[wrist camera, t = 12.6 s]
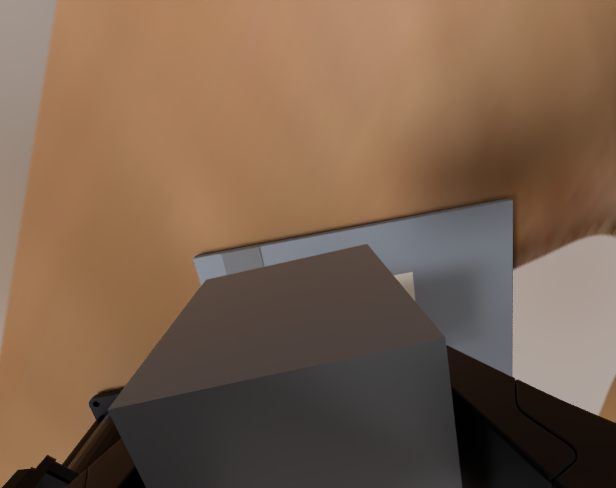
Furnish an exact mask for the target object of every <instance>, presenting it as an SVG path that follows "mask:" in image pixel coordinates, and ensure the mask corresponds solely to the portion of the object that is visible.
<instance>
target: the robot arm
mask: <svg viewBox="0 0 616 488" xmlns="http://www.w3.org/2000/svg"><path fill="white" fill-rule="evenodd" d="M446 347H447V356H448V365H449V374H450V383H451V392H452V401H453V410H454V418H455V427H456V436H457V445H458V454H459V463H460V472H461V481H462V488H616V423H615V422H612V421H610V420H607V419H605V418H602V417H600V416H597V415H595V414H593V413H590V412H588V411H586V410H583V409H581V408H579V407H576V406H574V405H571V404H569V403H567V402H564V401H562V400H560V399H557V398H556V397H553V396H551V395H549V394H547V393H545V392H543V391H541V390H538V389H536V388H534V387H532V386H530V385H528V384H526V383H524V382H522V381H520V380H516V381H515V378H513V377H511V376H509V375H507V374H505V373H503V372H501V371H499V370H497V369H495V368H493V367H491V366H489V365H487V364H485V363H483V362H481V361H479V360H477V359H475V358H473V357H471V356H468V355H466V354H464V353H462V352H460V351H458V350H456V349H454V348H452V347H450V346H448V345H446ZM121 391H122V390H119V391H114V392H108V393H102V394H97V395H95V396H94V397H93V398H92V399H91V400H90V401H89V406H90V408H91V410H92V412H93V414H94V416H95V418H96V421H95V423H94V424H93V425H92V426H91V428H90V429H89V430H88V432H87V433H86V434H85V435H84V437H83V438H82V439H81V441H80V442H79V443H78V445H77V446H76V447H75V448H74V450H73V451H72V452H71V454H70V455H69V456H68V458H67V459H66V460H65V461H64V463H63V464H62V465H61V464H59V463H57V462H55V461H56V459H54V458H52V457H51V456H49V455H47V456H46V457H45V458H44V460H43V461H42V462H41V463H40V464H39V465H38V466H37V468H36V469H35V468H33V467H31V469H23V470H17V472H16V473H15V474H14V475H13V476H12V477H11V478H10V479H9V480H8V482H7V483H6V484H5V485H4V486H3V487H2V488H146V487H145V484H144V482H143V480H142V478H141V476H140V474H139V472H138V470H137V468H136V466H135V464H134V462H133V460H132V458H131V456H130V454H129V452H128V450H127V448H126V446H125V444H124V442H123V440H122V438H121V436H120V434H119V432H118V430H117V428H116V426H115V424H114V422H113V420H112V418H111V416H110V414H109V412H108V408H109V407H110V406H111V404H112V403H113V402H114V400H115V399H116V398H117V396H118V395H119V394H120V392H121Z"/></svg>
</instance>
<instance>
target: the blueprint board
mask: <svg viewBox="0 0 616 488" xmlns="http://www.w3.org/2000/svg"><path fill="white" fill-rule="evenodd" d="M364 244H368V245H369V247H370V248H371V249H372V250H373V251H374V253H375V254H376V255H377V256H378V257H379V259H380V260H381V261H382V262H383V263H384V265H385V266H386V267H387V268H388V269H389V271H390V272H391V273H392V274H393V275H394V277H395V278H396V279H397V280H398V281H399V283H400V284H401V285H402V286H403V287H404V289H405V290H406V291H407V292H408V293H409V295H410V296H411V297H412V298H413V299H414V301H415V302H416V303H417V304H418V305H419V307H420V308H421V309H422V310H423V311H424V313H425V314H426V315H427V316H428V317H429V319H430V320H431V321H432V322H433V323H434V325H435V326H436V327H437V328H438V329H439V331H440V332H441V333H442V334H443V335H444V336H445V338H446V345H448V346H450V347H452V348H454V349H456V350H458V351H460V352H462V353H464V354H466V355H468V356H471V357H473V358H475V359H477V360H479V361H481V362H483V363H485V364H487V365H489V366H491V367H493V368H495V369H497V370H499V371H501V372H503V373H505V374H507V375H509V376H511V377H512V312H513V310H512V308H513V305H512V303H513V300H512V299H513V200H511V199H502V200H497V201H491V202H486V203H480V204H475V205H469V206H464V207H459V208H453V209H448V210H442V211H437V212H431V213H426V214H421V215H415V216H410V217H404V218H399V219H393V220H388V221H383V222H377V223H372V224H366V225H361V226H355V227H350V228H345V229H339V230H334V231H328V232H323V233H317V234H312V235H307V236H301V237H296V238H290V239H285V240H279V241H274V242H269V243H263V244H258V245H252V246H247V247H241V248H236V249H231V250H225V251H220V252H214V253H209V254H203V255H198V256H195V257H194V258H193V260H194V264H195V267H196V270H197V274H198V277H199V280H200V283H201V286H202V284H203V283H204V282H205V280H207V279H211V278H216V277H220V276H225V275H229V274H234V273H238V272H243V271H247V270H252V269H256V268H261V267H265V266H270V265H274V264H279V263H283V262H288V261H292V260H297V259H301V258H306V257H310V256H315V255H319V254H324V253H328V252H333V251H337V250H342V249H346V248H351V247H355V246H360V245H364Z"/></svg>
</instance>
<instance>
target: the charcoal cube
mask: <svg viewBox="0 0 616 488" xmlns="http://www.w3.org/2000/svg"><path fill="white" fill-rule="evenodd" d="M108 412H109V414H110V416H111V418H112V420H113V422H114V424H115V426H116V428H117V430H118V432H119V434H120V436H121V438H122V440H123V442H124V444H125V446H126V448H127V450H128V452H129V454H130V456H131V458H132V460H133V462H134V464H135V466H136V468H137V470H138V472H139V474H140V476H141V478H142V480H143V482H144V484H145V487H146V488H462V481H461V472H460V463H459V454H458V445H457V436H456V427H455V418H454V410H453V401H452V392H451V383H450V374H449V365H448V356H447V347H446V338H445V336H444V335H443V334H442V333H441V332H440V331H439V329H438V328H437V327H436V326H435V325H434V323H433V322H432V321H431V320H430V319H429V317H428V316H427V315H426V314H425V313H424V311H423V310H422V309H421V308H420V307H419V305H418V304H417V303H416V302H415V301H414V299H413V298H412V297H411V296H410V295H409V293H408V292H407V291H406V290H405V289H404V287H403V286H402V285H401V284H400V283H399V281H398V280H397V279H396V278H395V277H394V275H393V274H392V273H391V272H390V271H389V269H388V268H387V267H386V266H385V265H384V263H383V262H382V261H381V260H380V259H379V257H378V256H377V255H376V254H375V253H374V251H373V250H372V249H371V248H370V247H369V245H368V244H364V245H360V246H355V247H351V248H346V249H342V250H337V251H333V252H328V253H324V254H319V255H315V256H310V257H306V258H301V259H297V260H292V261H288V262H283V263H279V264H274V265H270V266H265V267H261V268H256V269H252V270H247V271H243V272H238V273H234V274H229V275H225V276H220V277H216V278H211V279H207V280H205V282H204V283H203V284H202V286H201V287H200V288H199V290H198V291H197V292H196V294H195V295H194V296H193V298H192V299H191V300H190V301H189V303H188V304H187V305H186V307H185V308H184V309H183V311H182V312H181V313H180V315H179V316H178V317H177V319H176V320H175V321H174V323H173V324H172V325H171V327H170V328H169V329H168V330H167V332H166V333H165V334H164V336H163V337H162V338H161V340H160V341H159V342H158V344H157V345H156V346H155V348H154V349H153V350H152V352H151V353H150V354H149V356H148V357H147V358H146V360H145V361H144V362H143V363H142V365H141V366H140V367H139V369H138V370H137V371H136V373H135V374H134V375H133V377H132V378H131V379H130V381H129V382H128V383H127V385H126V386H125V387H124V389H123V390H122V391H121V392H120V394H119V395H118V396H117V398H116V399H115V400H114V402H113V403H112V404H111V406H110V407H109V408H108Z"/></svg>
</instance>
